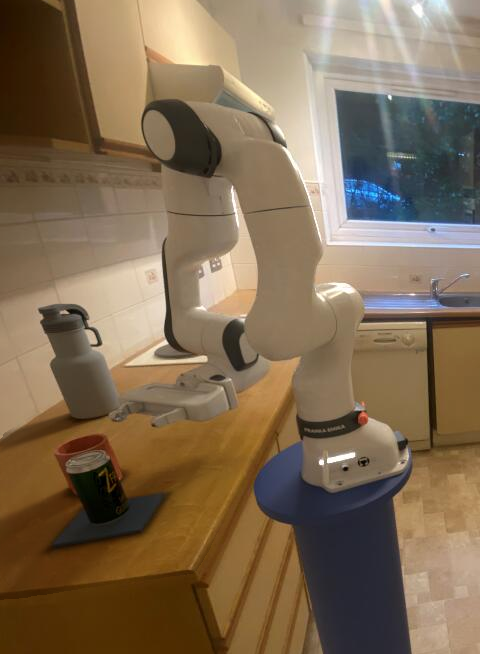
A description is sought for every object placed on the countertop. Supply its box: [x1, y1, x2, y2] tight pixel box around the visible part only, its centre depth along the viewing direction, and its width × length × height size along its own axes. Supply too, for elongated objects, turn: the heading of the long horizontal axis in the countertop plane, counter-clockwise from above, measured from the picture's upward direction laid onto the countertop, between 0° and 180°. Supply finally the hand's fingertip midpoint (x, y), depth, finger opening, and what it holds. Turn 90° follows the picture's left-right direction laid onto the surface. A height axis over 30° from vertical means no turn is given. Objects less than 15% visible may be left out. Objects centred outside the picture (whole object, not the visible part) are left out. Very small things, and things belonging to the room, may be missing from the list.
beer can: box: [66, 450, 130, 526], centre depth 73 cm, size 5×5×12 cm
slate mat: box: [51, 492, 166, 549], centre depth 76 cm, size 12×10×1 cm
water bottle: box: [37, 303, 120, 420], centre depth 107 cm, size 10×10×28 cm
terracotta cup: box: [53, 433, 123, 496], centre depth 83 cm, size 7×7×9 cm
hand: (132, 421), depth 77 cm, fingers open, 8 cm apart
